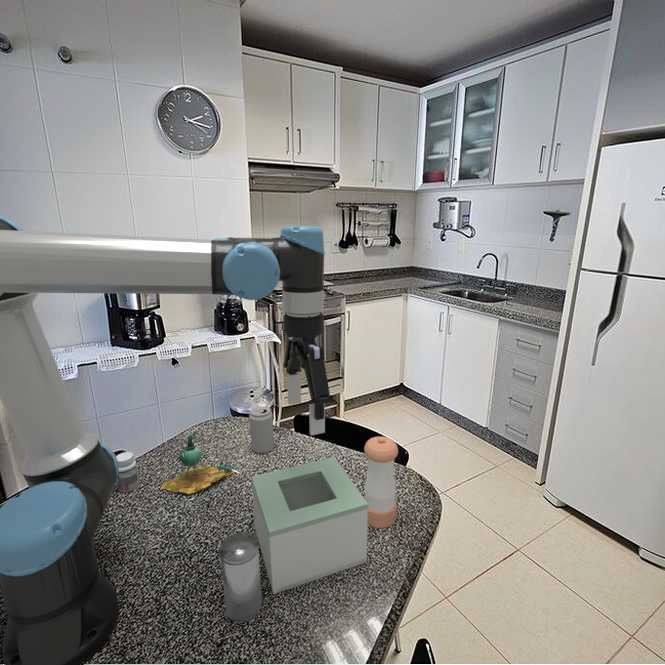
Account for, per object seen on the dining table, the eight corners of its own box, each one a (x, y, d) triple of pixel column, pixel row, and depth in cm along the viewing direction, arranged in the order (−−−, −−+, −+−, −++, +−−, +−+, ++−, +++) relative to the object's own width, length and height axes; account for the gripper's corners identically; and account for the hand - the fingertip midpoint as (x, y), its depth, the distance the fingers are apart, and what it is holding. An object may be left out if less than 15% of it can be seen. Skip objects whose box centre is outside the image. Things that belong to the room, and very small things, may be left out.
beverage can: (269, 456, 109) (267, 416, 106) (247, 453, 111) (245, 414, 107) (277, 443, 115) (275, 406, 112) (256, 441, 117) (254, 404, 113)
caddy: (273, 594, 69) (269, 532, 65) (255, 530, 83) (251, 476, 80) (366, 562, 75) (367, 504, 72) (335, 507, 90) (334, 456, 86)
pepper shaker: (367, 530, 83) (368, 449, 78) (359, 506, 90) (360, 430, 85) (400, 525, 84) (404, 445, 79) (390, 502, 91) (393, 427, 86)
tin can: (228, 627, 63) (221, 567, 60) (223, 595, 69) (217, 538, 66) (265, 614, 66) (261, 555, 62) (258, 583, 71) (254, 528, 68)
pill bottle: (120, 482, 99) (115, 452, 97) (141, 478, 100) (136, 449, 98) (116, 494, 95) (110, 463, 92) (137, 490, 96) (132, 460, 94)
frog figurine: (235, 491, 96) (222, 437, 91) (157, 507, 93) (141, 453, 89) (237, 467, 105) (226, 417, 100) (166, 481, 102) (151, 431, 98)
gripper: (351, 326, 64) (348, 444, 69) (301, 299, 86) (302, 390, 92) (307, 331, 61) (308, 453, 67) (266, 301, 83) (270, 395, 89)
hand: (304, 417), depth 79 cm, fingers open, 13 cm apart
